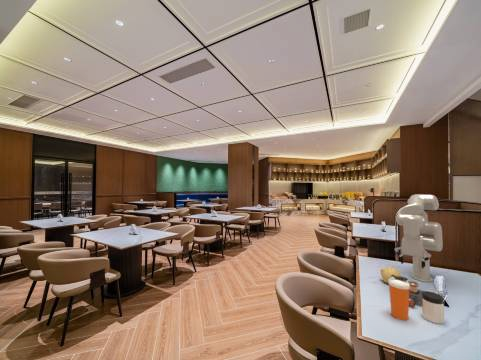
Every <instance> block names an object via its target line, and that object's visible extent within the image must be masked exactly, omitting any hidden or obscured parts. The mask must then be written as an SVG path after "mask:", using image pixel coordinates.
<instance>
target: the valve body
mask: <svg viewBox="0 0 481 360" xmlns="http://www.w3.org/2000/svg"><path fill="white" fill-rule="evenodd" d="M423 291H424V290H421V289H418V288H417V293H418V294H414V293H411V292H409V308H412V309H414V308H415V307H416V306H418V307H422V292H423Z"/></svg>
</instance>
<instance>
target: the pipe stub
mask: <svg viewBox="0 0 481 360" xmlns="http://www.w3.org/2000/svg"><path fill="white" fill-rule="evenodd" d="M407 282H408V283H409V284H410V289H409V292H411V293H414V294H418V293H417V289H418V287H419V283H418V282H417V281H416V282H415V281H411V280H407Z"/></svg>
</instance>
